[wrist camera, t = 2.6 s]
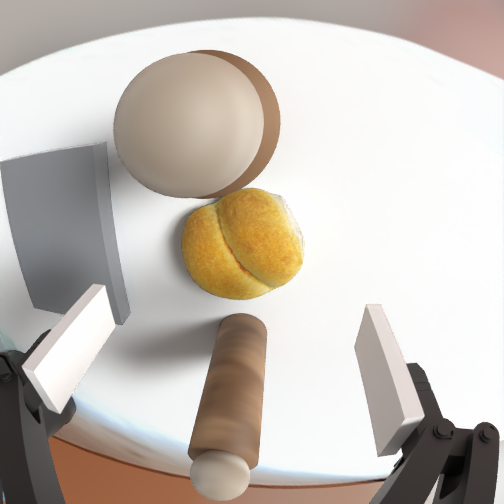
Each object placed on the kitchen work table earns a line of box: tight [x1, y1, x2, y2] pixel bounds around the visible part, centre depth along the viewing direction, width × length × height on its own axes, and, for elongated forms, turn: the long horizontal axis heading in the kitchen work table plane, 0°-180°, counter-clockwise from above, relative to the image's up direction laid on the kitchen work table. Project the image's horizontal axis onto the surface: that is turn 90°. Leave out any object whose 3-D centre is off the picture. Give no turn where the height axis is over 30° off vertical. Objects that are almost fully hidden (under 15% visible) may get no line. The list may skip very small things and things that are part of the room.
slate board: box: [0, 142, 130, 325], centre depth 23 cm, size 12×16×2 cm
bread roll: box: [181, 188, 305, 300], centre depth 22 cm, size 8×9×4 cm
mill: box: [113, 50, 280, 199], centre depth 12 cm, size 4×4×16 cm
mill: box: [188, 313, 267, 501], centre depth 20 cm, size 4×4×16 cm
